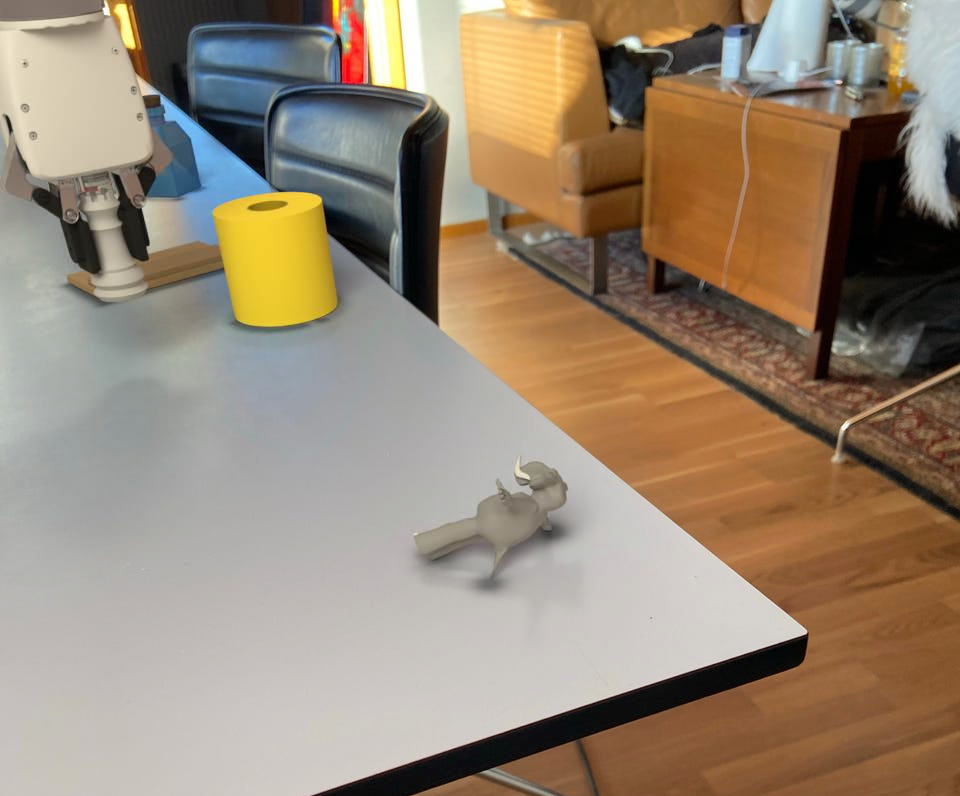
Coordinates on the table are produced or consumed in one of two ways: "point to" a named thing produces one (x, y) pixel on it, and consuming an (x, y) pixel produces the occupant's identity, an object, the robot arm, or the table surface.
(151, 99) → the perfume bottle
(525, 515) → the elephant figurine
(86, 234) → the robot arm
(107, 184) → the pill bottle
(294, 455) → the table surface
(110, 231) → the rook chess piece
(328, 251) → the yellow toilet paper roll
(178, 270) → the wooden board
